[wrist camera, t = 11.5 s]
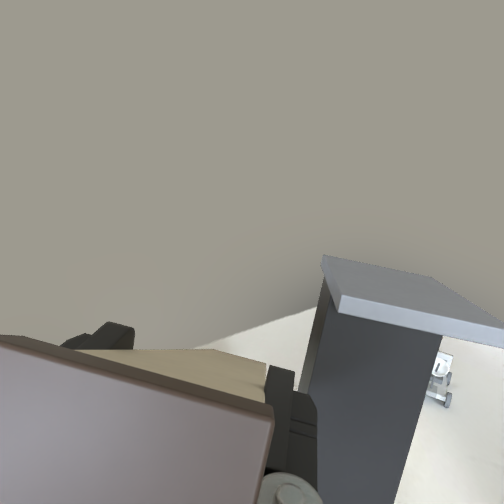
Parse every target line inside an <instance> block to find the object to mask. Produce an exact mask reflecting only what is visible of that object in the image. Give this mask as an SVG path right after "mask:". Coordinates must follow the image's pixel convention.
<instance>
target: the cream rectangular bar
mask: <svg viewBox="0 0 504 504" xmlns="http://www.w3.org/2000/svg"><path fill="white" fill-rule="evenodd" d="M265 381H266V363H262V362H259V361H255V360H251V359H247V358H244V357H240V356H236V355H233V354H229V353H225V352H221V351H218V350H214V349H184V350H183V349H179V350H178V349H176V350H175V349H171V350H72V349H68V348H64V347H61V346H57V345H54V344H50V343H46V342H43V341H39V340H35V339H32V338H28V337H25V336H15V335H0V504H257V502H258V497H259V493H260V489H261V484H262V480H263V475H264V471H265V467H266V462H267V458H268V454H269V449H270V445H271V440H272V436H273V432H274V427H275V419H274V410H273V407H272V406H271V405H270V404H266V403H265V393H264V385H265Z"/></svg>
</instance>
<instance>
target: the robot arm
mask: <svg viewBox="0 0 504 504" xmlns="http://www.w3.org/2000/svg"><path fill="white" fill-rule="evenodd" d="M134 337H135V331H134V328H132V327H128V326H124V325H121V324H117V323H113V322H106V323H105V324H104V325H103V326H101V327H100V328H99V329H98V330H97V331H96V332H95V333H94V334H92V335H90V334H86V333H84V334H82V335H79V336H76V337H74V338H71V339H69V340H67V341H66V342H64V343H63V344H62V345H60V346H61V347H64V348H68V349H72V350H133V345H134ZM294 377H295V372H294V371H291V370H287V369H283V368H279V367H276V366H272V365H270V366H269V370H268V373H267V377H266V381H265V385H264V393H265V403H266V404H270V405H271V406H272V407H273V410H274V419H275V427H274V432H273V436H272V440H271V445H270V449H269V454H268V458H267V462H266V467H265V471H264V475H263V480H262V484H261V489H260V493H259V497H258V502H257V504H323V502H322V500H321V498H320V496H319V494H318V489H317V408H316V406H315V404H314V402H313V400H312V398H311V396H310V395H308V394H304V393H301V392H297V391H293V387H294Z"/></svg>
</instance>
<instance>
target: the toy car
mask: <svg viewBox="0 0 504 504" xmlns="http://www.w3.org/2000/svg"><path fill="white" fill-rule="evenodd" d="M452 358H453V355H450V354H447V353H444V352H441V351H438V354H437V357H436V360H435V364H434V367H433V371H432V374H431V377H430V381H429V384H428V388H427V391H426V395H428V396H431V397H433V398H437V399H439V400H442V401H444V407H446V408H449V405H450V402H451V398H452V393H449V392H447V385H449V383H450V380H451V375H452V373H451V372H448V371H449V368H450V365H451V361H452Z"/></svg>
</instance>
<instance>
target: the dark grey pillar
mask: <svg viewBox="0 0 504 504" xmlns="http://www.w3.org/2000/svg"><path fill="white" fill-rule="evenodd" d="M321 268H322V271H323V273H324V280H323V284H322V288H321V292H320V297H319V301H318V305H317V310H316V314H315V318H314V322H313V327H312V331H311V335H310V340H309V344H308V348H307V353H306V357H305V361H304V365H303V370H302V374H301V378H300V383H299V387H298V391H297V392H301V393H304V394H308V395H310V396H311V398H312V400H313V402H314V404H315V406H316V408H317V489H318V494H319V496H320V498H321V500H322V502H323V504H394V500H395V497H396V494H397V490H398V487H399V483H400V480H401V477H402V473H403V470H404V466H405V463H406V459H407V456H408V453H409V449H410V446H411V442H412V439H413V436H414V432H415V429H416V425H417V422H418V418H419V415H420V412H421V408H422V405H423V401H424V398H425V395H426V391H427V388H428V384H429V381H430V377H431V374H432V371H433V367H434V364H435V360H436V357H437V354H438V350H439V347H440V343H441V340H442V336H448V337H452V338H457V339H462V340H466V341H471V342H475V343H480V344H485V345H489V346H494V347H498V348H503V349H504V323H503V322H501V321H500V320H499V319H497V318H496V317H494V316H492V315H491V314H489V313H488V312H486V311H484V310H483V309H481V308H480V307H478V306H477V305H475V304H473V303H472V302H470V301H469V300H467V299H465V298H464V297H462V296H461V295H459V294H457V293H456V292H454V291H453V290H451V289H449V288H448V287H446V286H445V285H443V284H441V283H440V282H438V281H437V280H435V279H434V278H432V277H428V276H423V275H419V274H414V273H409V272H404V271H400V270H395V269H390V268H385V267H380V266H376V265H371V264H366V263H361V262H356V261H352V260H347V259H342V258H337V257H333V256H327V255H323V257H322V261H321Z"/></svg>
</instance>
